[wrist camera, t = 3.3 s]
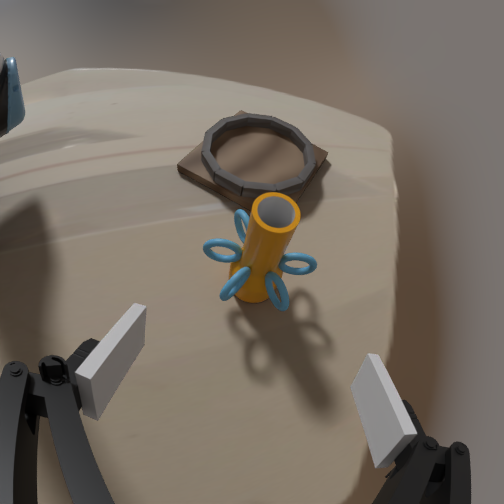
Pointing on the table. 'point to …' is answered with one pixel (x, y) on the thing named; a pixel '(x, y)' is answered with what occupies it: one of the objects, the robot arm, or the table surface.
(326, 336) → the table surface
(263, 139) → the hub board
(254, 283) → the cylinder
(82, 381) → the robot arm
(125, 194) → the table surface
